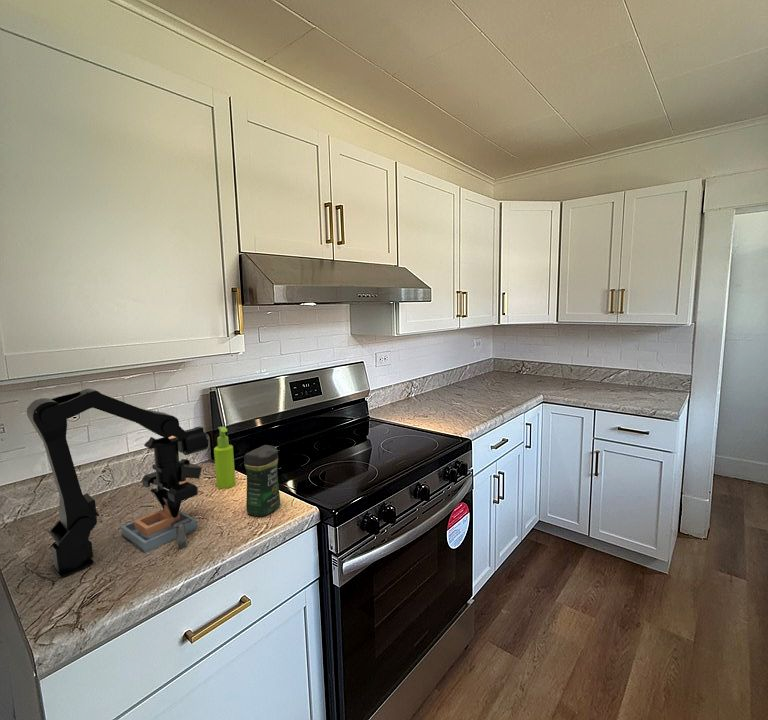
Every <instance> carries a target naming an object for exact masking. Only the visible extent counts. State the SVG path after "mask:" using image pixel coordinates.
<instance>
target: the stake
mask: <svg viewBox="0 0 768 720" xmlns="http://www.w3.org/2000/svg"><path fill="white" fill-rule="evenodd" d="M188 521H189V518H188V517H185V518H182V519H180V520H178V521H175V522H173V523H171V527H173V528H174V527H176V533H177V538H176V542H177V543H176V544H177V549H185V548H186V547H187V534H186V532H185V523H186V522H188Z"/></svg>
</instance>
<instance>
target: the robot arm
mask: <svg viewBox="0 0 768 720" xmlns="http://www.w3.org/2000/svg"><path fill="white" fill-rule="evenodd" d="M89 409H96V410H99V411H101V412H103V413H108V414H110V415H113V416H116V417H119V418H121V419H125V420H127V421H130V422H133V423H136V424H138V425H139V426H140V427H143V428H145V429H146V430H147V431H150V432H152V434H153V433H154V434H155V435H158V436H159V437H160V438H154V437H152V436H151V437H150V438H149V439H148V440H147V441H146V442H145V443H144V444H143V446H144V447H145V448H147V449H149V450H152V449H153V454H154V455H153V456H154V464H152V465H151V466H152V467H151V468H152V469H153V470H154V472H151V473H147V474H145V475H144V476H143V477H142V480H141V481H142V482H141V483H142V486H143V487H144V488H146V489H148V488H150V486H151V485H152V487H153V488H152V489H150V493H151V494H152V496H154V498H155V499H156V501H157V502H158V504H159V505H160V506H161V508H162V510H164V505H167V507H168V509H169V511H170V513H171V515H172V517H174V518H175V517H177V516H178V512H179V511H180V507H181V504H182V502H183V501H184V500H189V499H190V498H192V497H196V496H198V494H199V488H198V486H196V485H195V484H194V483H191V482H190V483H189V482H186V483H183V484H179V482H183V481H186V478H190V479H196V480H198V479H200V477H201V473H202V470H203V466H200V465H198V464H194V463H191V462H190V460H189V459H187V458H186V459H182V460H181V461H179V452H180V453H183V454H184V455H185V456H189V455H191V454H192V455H193V454H195V453H200V452H202V451H206V450H207V449H208V448H209V439H208V437H207V434H206V433H205V429H204V427H202V426H195V427H193V428H190V429H185V430H184V428H182V427H181V426H180V422H179V419H178V418H177V417H176V416H174V415H172V414H169V413H166V412H161V411H156V410H152V409H145V408H142V407H141V408H140V407H138V406H135V405H132V404H129V403H127V402H125V401H121V400H119V399H116V398H113V397H111V396H109V395H106V394H103V393H101V392H100V391H98V390H95V389H93V388H85V389H83V390H80V391H79V390H78V391H76V392H73V393H67V394H64V395H59V396H56V397H54V398H46V397H44V398H38V399H35V400H34V401H32V402H31V403H30V404H29V405H28V406H27V408H26V415H27V418H28V420H29V422H30V423H31V425H32V426H33V428H34V429H35V431H36V433H37V435H38V436H39V438H40V440H42V442H43V447H44V449H45V453H46V456H47V458H48V464H49V465H50V468H51V472H52V474H53V479H54V481H55V486H56V488H57V492H58V494H59V505H58V513H59V514H58V515H59V520H58V521H57V522H56V523H55V525H54V526H53V527H52V528H51V529H50V530H49V533H48V534H49V535H50V536H51V538H52V539H53V541H54V542H55V543H52V544H51V550H52V551H51V552H52V559H53V564H52V565H51V569H52V570H53V571H54V572H55V573H56V574H57V576H59V578H65V577H66V576H68V575H70V574H74V573H75V572H78V571H81V570H82V569H85V568H87V567H89V566H92V565H94V563H95V561H94V560H93V558H94V551H93V543H92V541H91V540H90V539H89V538H90V535H91V531H92V530H93V529H95V527H96V526H97V524H98V517H100V513H99V512H98V511H97V507H96V506H97V505H96V500H95V499H94V498H93V497H92V496H91V495H90V494H89V493H88V492H87V493H84V494H83V491H82V489H81V484H80V481H79V478H78V475H77V472H76V468H75V464H74V461H73V458H72V454H71V451H70V446H69V444H68V440H67V431H68V419H70V418H73V417H75V416H77V415H80V414H82V413H83V412H85V411H87V410H89ZM171 436H174V437H175V438H171V439H169V438H168V437H171ZM178 450H179V452H178ZM164 511H165V510H164Z"/></svg>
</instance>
